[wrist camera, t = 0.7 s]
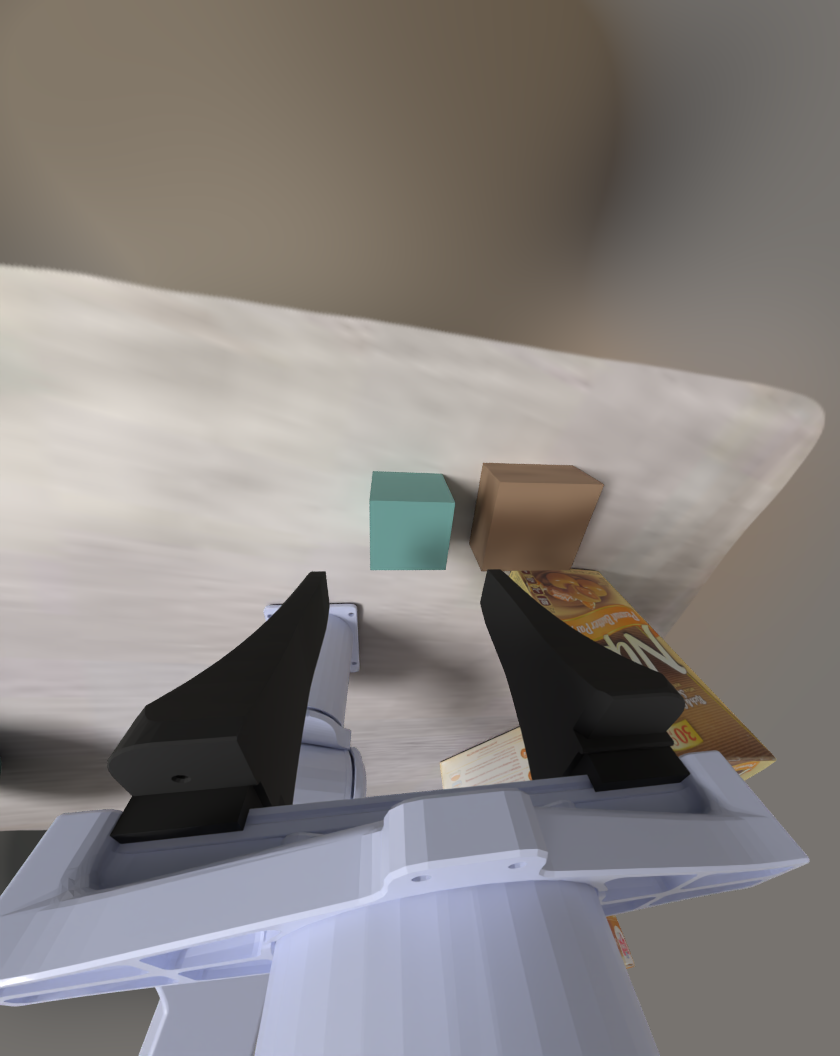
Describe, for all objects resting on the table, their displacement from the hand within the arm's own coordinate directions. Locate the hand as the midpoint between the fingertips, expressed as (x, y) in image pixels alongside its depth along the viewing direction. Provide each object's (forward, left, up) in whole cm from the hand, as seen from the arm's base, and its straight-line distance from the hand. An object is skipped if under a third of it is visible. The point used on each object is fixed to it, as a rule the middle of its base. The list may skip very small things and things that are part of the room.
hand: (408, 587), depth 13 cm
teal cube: (-1, -1, -10) cm, 10 cm away
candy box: (-9, -15, -11) cm, 20 cm away
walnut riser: (-1, -10, -11) cm, 14 cm away
